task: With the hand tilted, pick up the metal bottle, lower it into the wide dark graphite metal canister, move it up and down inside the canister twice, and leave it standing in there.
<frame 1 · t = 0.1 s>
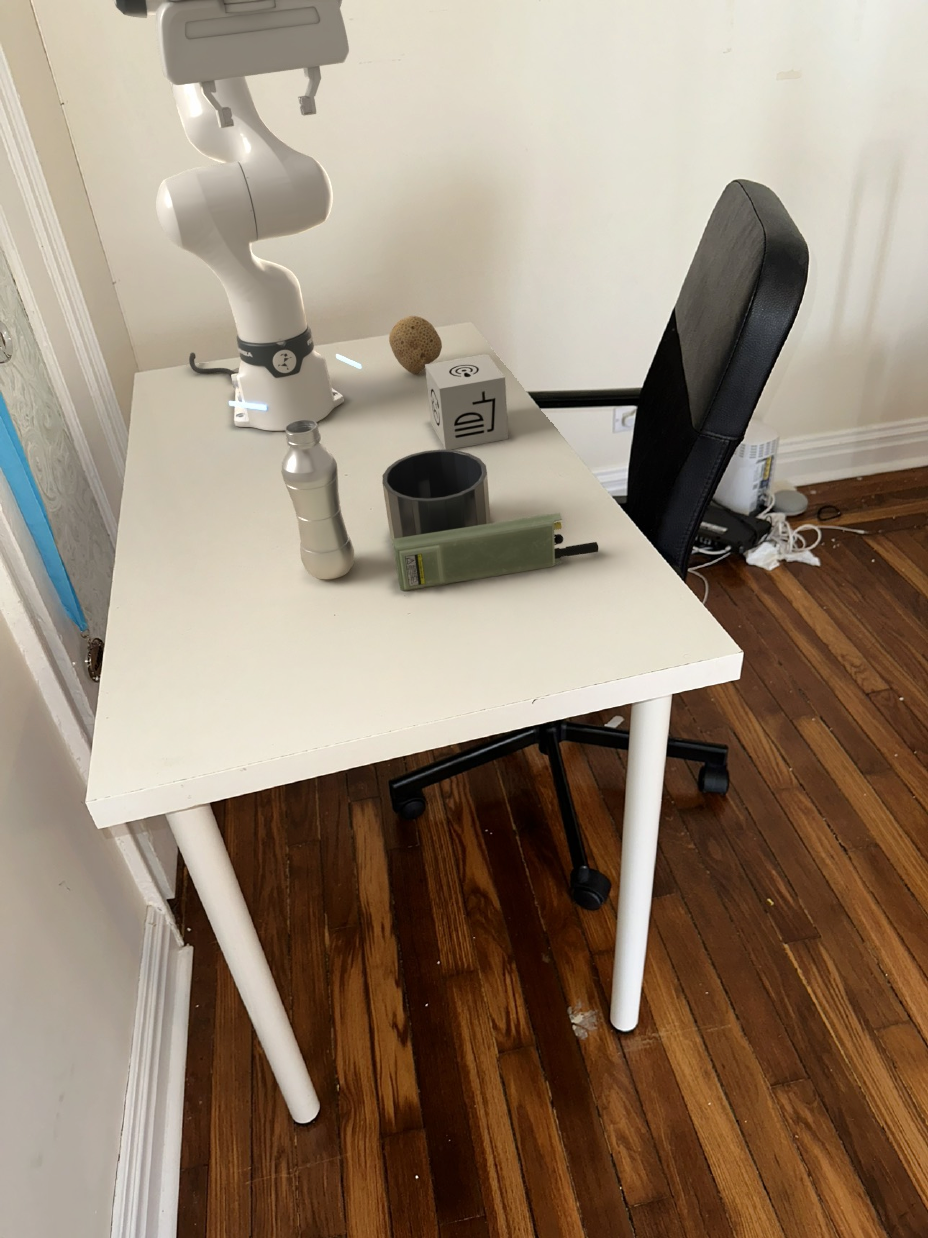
hand: (268, 120, 103), 48 cm above the table, tool pointing down, fingers open, 8 cm apart
canister: (441, 534, 121), on the table
natural sponge: (419, 372, 166), on the table
icon cube: (469, 432, 145), on the table
metal bottle: (331, 572, 116), on the table
handheld radio: (499, 572, 113), on the table
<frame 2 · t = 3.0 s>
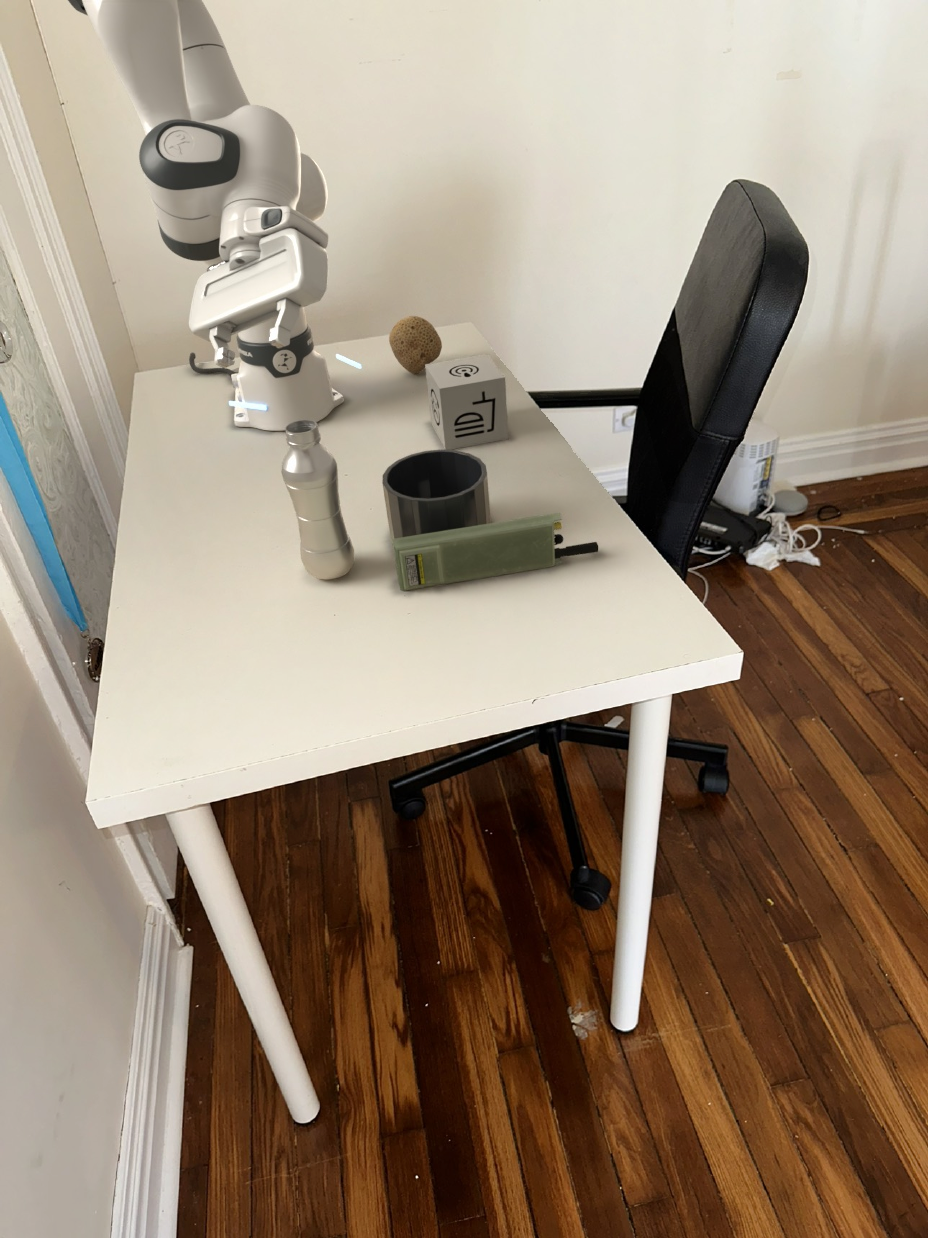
hand: (250, 355, 105), 26 cm above the table, tool tilted 45°, fingers open, 8 cm apart
nothing on the table moved.
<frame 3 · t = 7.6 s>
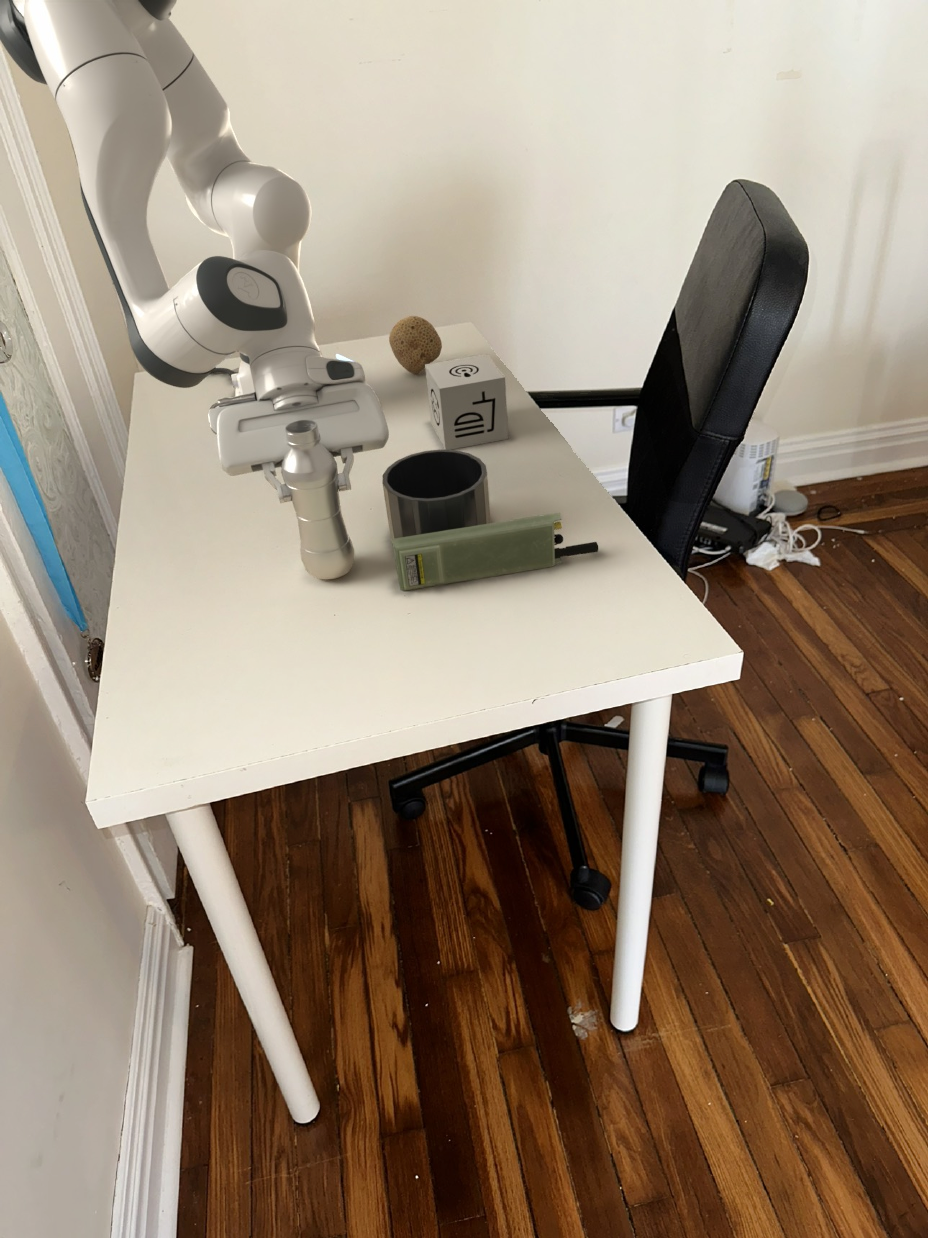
hand: (316, 495, 109), 11 cm above the table, tool tilted 45°, fingers closed on metal bottle, 6 cm apart
metal bottle: (331, 572, 116), on the table, touching gripper
everything else where it was.
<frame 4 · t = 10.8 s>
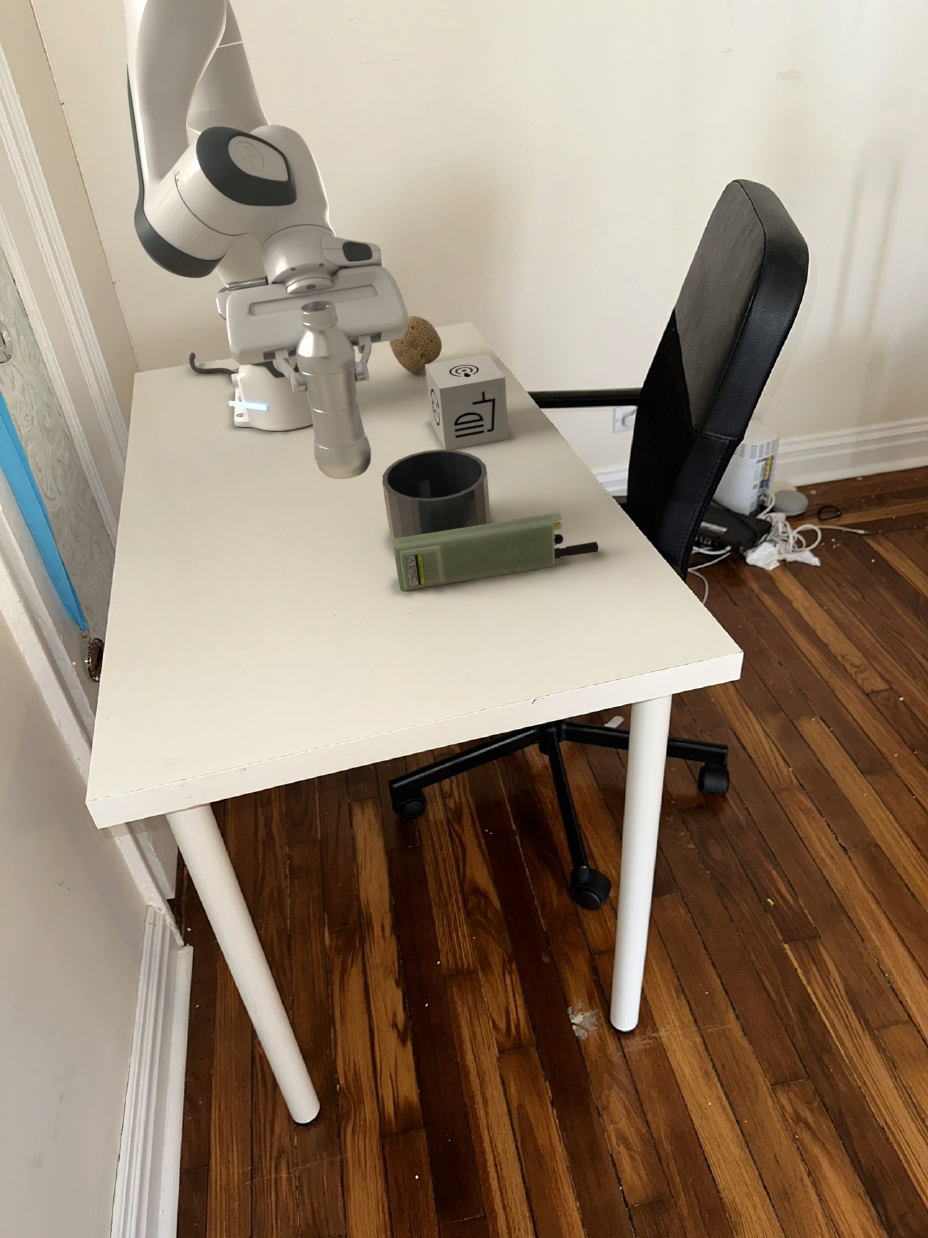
hand: (332, 384, 102), 24 cm above the table, tool tilted 45°, fingers closed on metal bottle, 6 cm apart
metal bottle: (346, 474, 110), point 13 cm above the table, touching gripper
everything else where it was.
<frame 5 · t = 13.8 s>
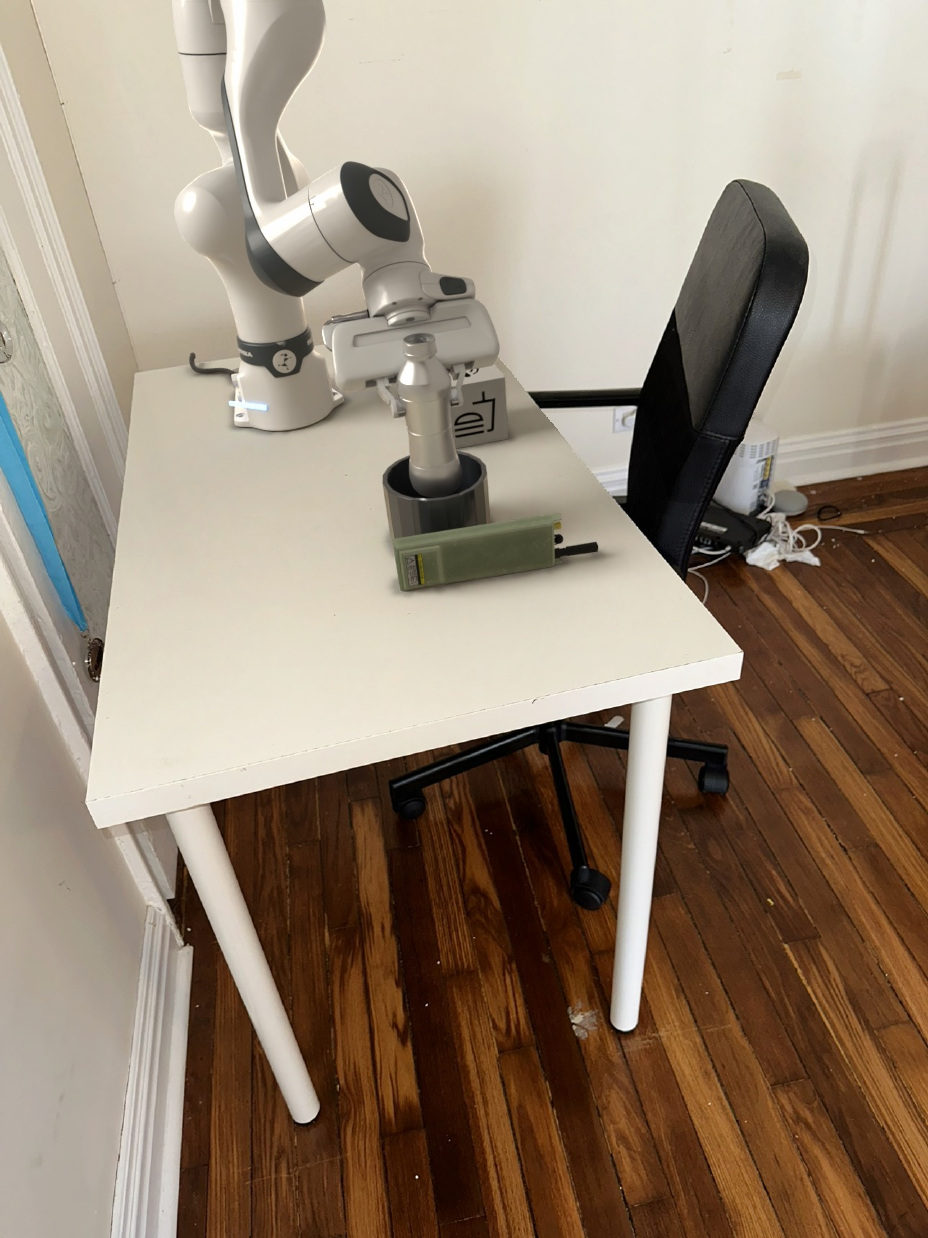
hand: (428, 410, 110), 18 cm above the table, tool tilted 45°, fingers closed on metal bottle, 6 cm apart
metal bottle: (437, 492, 117), point 6 cm above the table, touching gripper
everything else where it was.
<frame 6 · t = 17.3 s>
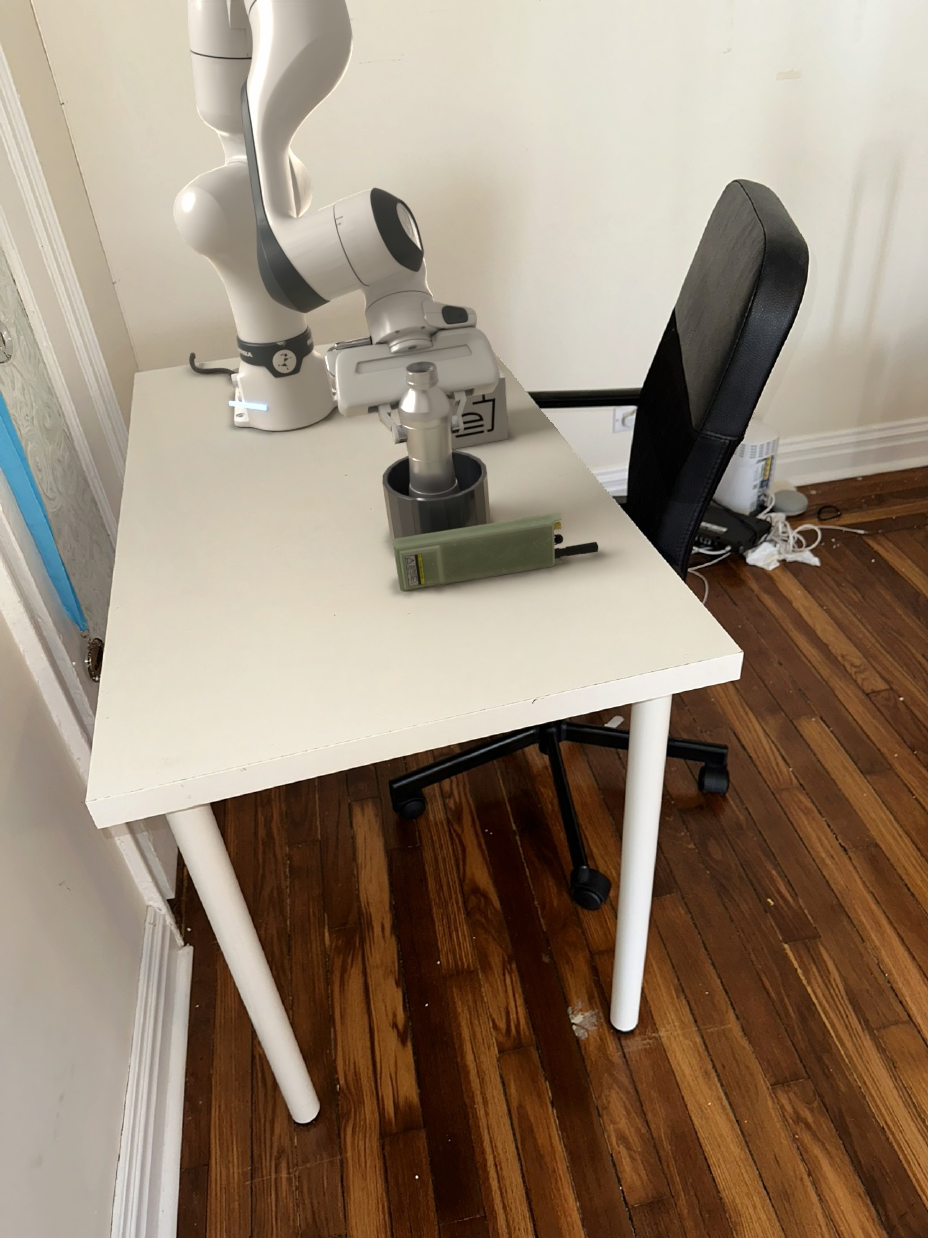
hand: (429, 436, 112), 14 cm above the table, tool tilted 45°, fingers closed on metal bottle, 6 cm apart
metal bottle: (436, 515, 119), point 3 cm above the table, touching gripper
everything else where it was.
when the fingers open (12 cm above the table, at t = 20.0 s): metal bottle stays where it is, resting on canister.
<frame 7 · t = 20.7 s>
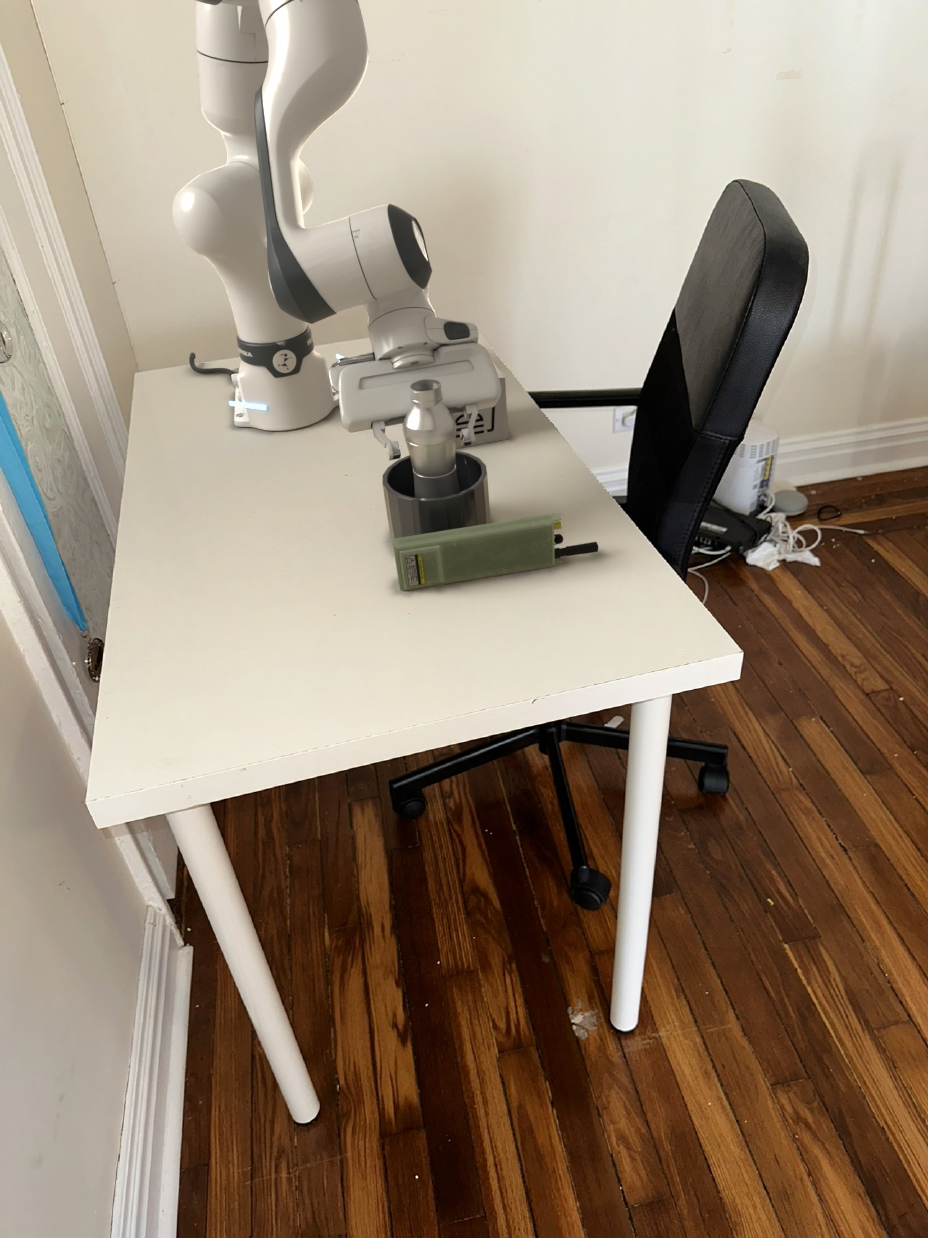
hand: (432, 451, 113), 13 cm above the table, tool tilted 45°, fingers open, 8 cm apart
metal bottle: (441, 530, 121), point 1 cm above the table, touching canister
everything else where it was.
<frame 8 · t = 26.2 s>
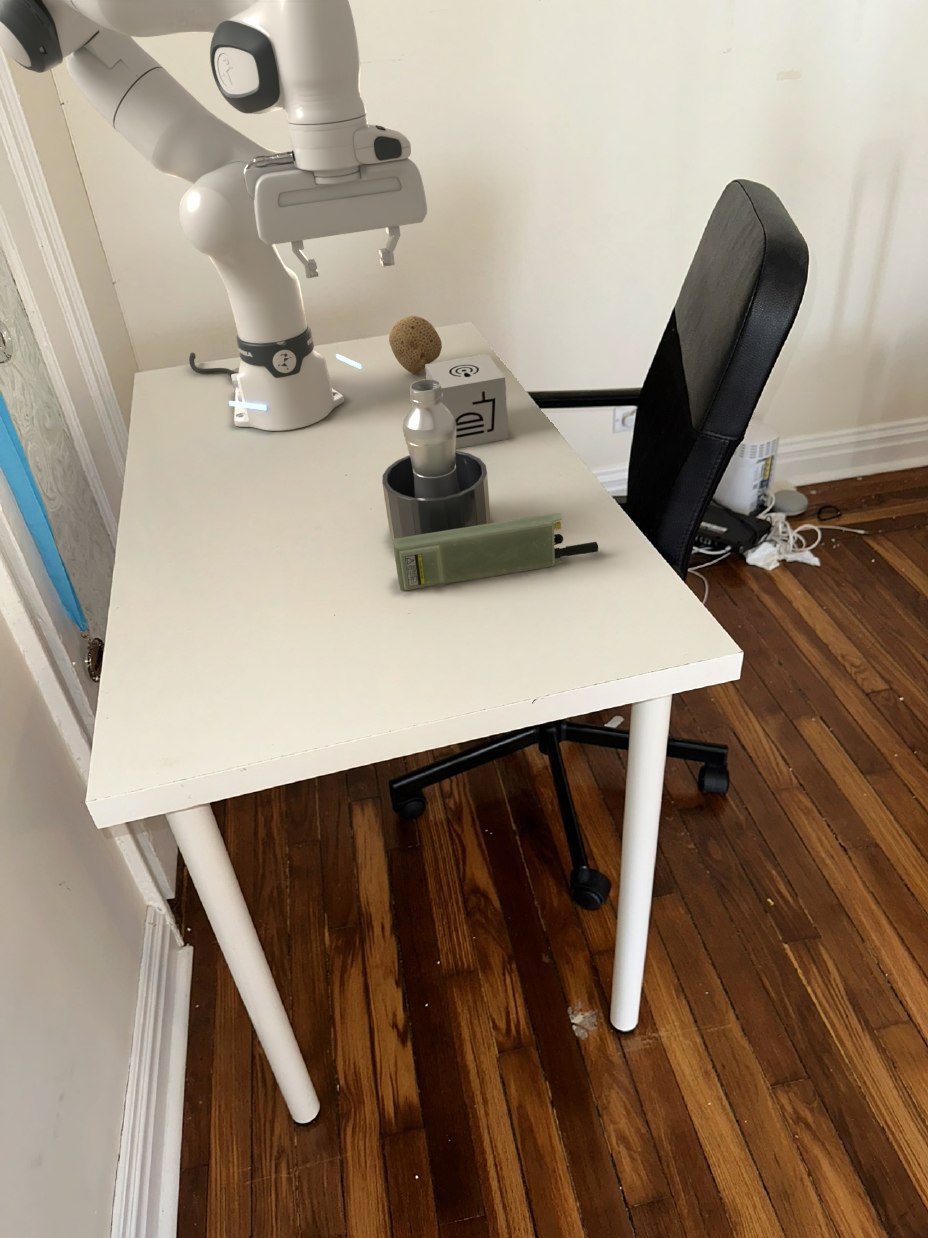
hand: (350, 270, 112), 31 cm above the table, tool pointing down, fingers open, 8 cm apart
nothing on the table moved.
at the end: metal bottle 0.1 cm off-centre in the canister, point 0.6 cm above the canister's base; metal bottle tilted 0°; the gripper is holding nothing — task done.
